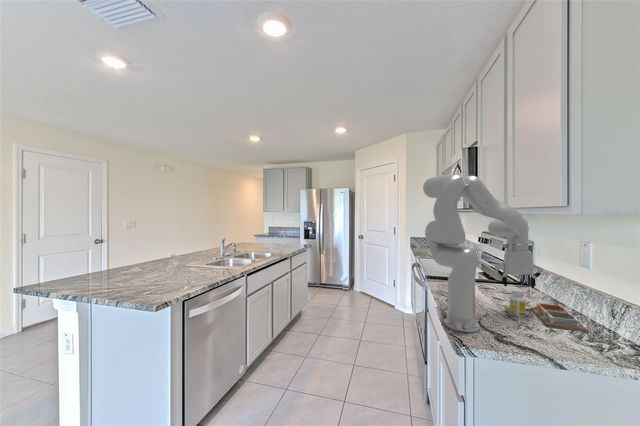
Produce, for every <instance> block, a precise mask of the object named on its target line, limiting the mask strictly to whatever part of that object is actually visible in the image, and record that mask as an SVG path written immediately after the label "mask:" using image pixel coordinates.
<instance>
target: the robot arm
mask: <svg viewBox="0 0 640 426" xmlns="http://www.w3.org/2000/svg"><path fill="white" fill-rule="evenodd" d="M422 186H423V187H422V190H423V193H424V194H425V195H426V196H427V197H428V198H431V199H436V200H435V202H434V205H433V208H432V209H433V210H432V211H433V212H432V213H433V217H434V219H435V220H432V221H429V223H428V224H426V227H425V230H424V234H425V236H424V237H425V239H426V242H427V245H428V248H429V251H430V253H431V256H432V258H433V261H434V262H435V263H436V264H438V265H439V266H443V267H446V268H450V269H451V272H450V273H449V275H448V277H447V317H445V318H444V320H443V324H444V326H446V327H447V328H448V329H451V330H454V331H457V332H462V333H476V332H478V331H480V330H481V325H480V324H479V323H478V322H477V321H476V274H477V273H476V271H477V267H478V263H479V256H478V254H477V251H476V250H474V249H473V248H471V247H469V246H464V245H462V244H463V243H464V242H465V240H466V232H465V231H466V230H465V228H464V226H463V225H464V224H463V222H462V219H461V217H460V213H459V210H458V203H459V200H460V199H461V198H463V199H465V200H466V201H467V202H468V204H469V205H470V206H471V207H472V208H473V210H474V211H475V212H476V213H478V214H480V215H482V216H485V217H487V218H490V219H491V218H492V219H493V220H491V222H489V224H488V225H487V230H488V232H489V234H490V235H492V236H494V237H499V238H506V243H505V244H502V247H503V248H504V249H505V252H504V256H503V262H502V263H500V264H497V265H495V266H494V269H495V271H496V272H497V273H498V275H499V276H501V284H502V285H503V286H504V287H508V277H507V276H508V275H524V276H530V277H529V287H530V288H531V289H535V287H536V286H537V284H536V282H537V281H536V280H537V278H538V277H540V276H541V274H542V273H543V271H544V268H542V267H540V266H538V265H536V264H534V260H533V254H532V250H529V222H528V220H527V219H525V218H524V217H523V215H522V214H521V213H520V212H519V211H518V210H517V209H515V208H513V207H512V206H510V205H508V204H506V203H504V202H503V201H500V200H498V199H496V198H495V196H494V195H493V194H492V192H491V191H490V190H489V189H488V188H487V186H486V185H485V184H484V183H483V181H482V180H481V179H480V178H479V177H478V176H475V175H465V176H461V175H460V174H445V175H438V176H434V177H429V178H428V179H426V180H425V181H424V183H423V185H422ZM501 268H503V271H501ZM534 270H536V272H535V271H534Z"/></svg>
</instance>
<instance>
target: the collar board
mask: <svg viewBox="0 0 640 426" xmlns="http://www.w3.org/2000/svg"><path fill="white" fill-rule="evenodd" d="M535 304H536V307H531V308H530V310H531V311H532V313H533V314H534V315H535V316H536V317H537V318H538V319H539V321H540V322H542V324H543V325H544V326H545V327H546V328H552V329H553V328H554V329H560V330H568V331H575V332H583V333H587V331H588V329H587V328H586V327H585V326H584V325H583V324H581V321H580V320H579V319H578V318H577V317H576V316H575V315H573V314H572V313H570V311H569V310H567V309H566V308H565V307H563V305H561V304H551V303H541V302H536V303H535Z"/></svg>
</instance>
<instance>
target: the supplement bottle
mask: <svg viewBox="0 0 640 426" xmlns="http://www.w3.org/2000/svg"><path fill="white" fill-rule="evenodd" d="M509 313H510V315H511V316H515V317H520V318H521V317H525V316H526V299H525V298H524V292H522V291H518V290H512V291H511V296H510V297H509Z"/></svg>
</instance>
